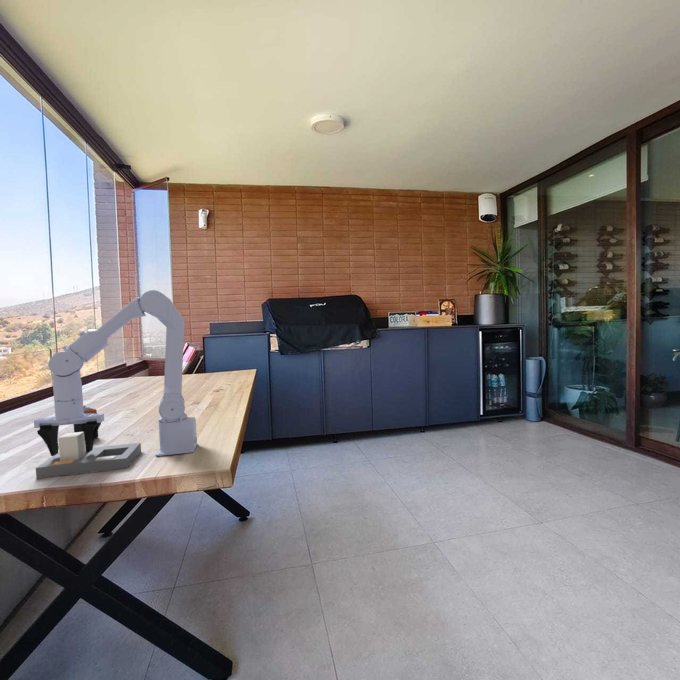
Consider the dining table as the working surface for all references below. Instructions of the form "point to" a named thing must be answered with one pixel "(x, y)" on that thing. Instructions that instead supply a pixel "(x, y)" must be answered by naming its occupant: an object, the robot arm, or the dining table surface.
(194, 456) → the dining table surface
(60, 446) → the plug
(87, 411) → the battery
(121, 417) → the dining table surface
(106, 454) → the socket block
